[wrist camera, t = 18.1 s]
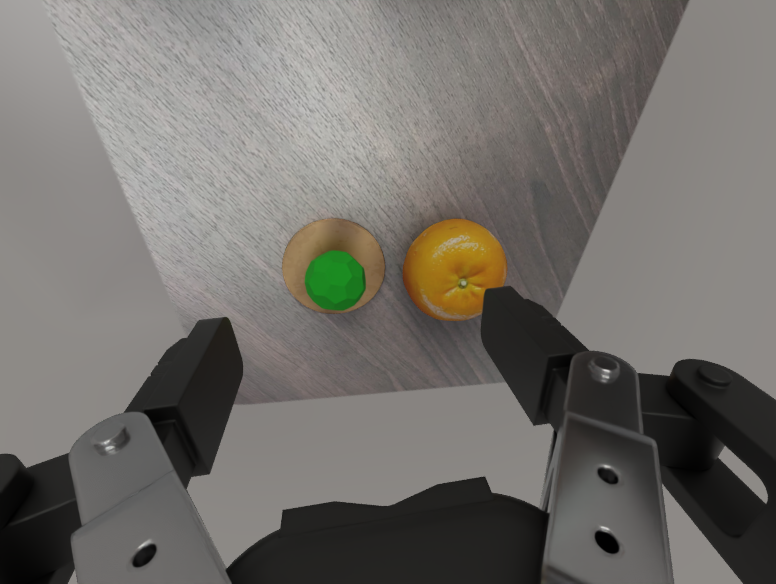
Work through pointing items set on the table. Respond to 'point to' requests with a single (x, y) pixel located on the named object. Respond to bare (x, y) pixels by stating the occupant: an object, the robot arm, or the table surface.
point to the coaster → (328, 238)
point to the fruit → (453, 269)
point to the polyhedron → (335, 280)
